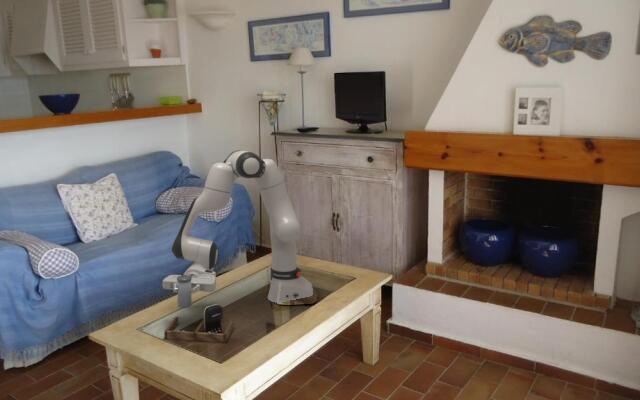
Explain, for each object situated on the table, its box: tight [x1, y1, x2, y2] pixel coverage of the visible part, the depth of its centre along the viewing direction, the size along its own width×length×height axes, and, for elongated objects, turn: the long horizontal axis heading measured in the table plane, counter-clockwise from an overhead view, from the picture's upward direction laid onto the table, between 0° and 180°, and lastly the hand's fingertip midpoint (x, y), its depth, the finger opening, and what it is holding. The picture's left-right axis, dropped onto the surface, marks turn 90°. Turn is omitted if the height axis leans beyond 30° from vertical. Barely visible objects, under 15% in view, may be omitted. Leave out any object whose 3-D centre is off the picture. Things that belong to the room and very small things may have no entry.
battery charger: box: [203, 303, 224, 334], centre depth 204 cm, size 7×4×11 cm, turn 134°
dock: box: [163, 316, 235, 343], centre depth 206 cm, size 23×13×3 cm, turn 86°
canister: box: [177, 274, 193, 309], centre depth 203 cm, size 5×5×11 cm
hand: (183, 291), depth 202 cm, fingers closed on canister, 5 cm apart
